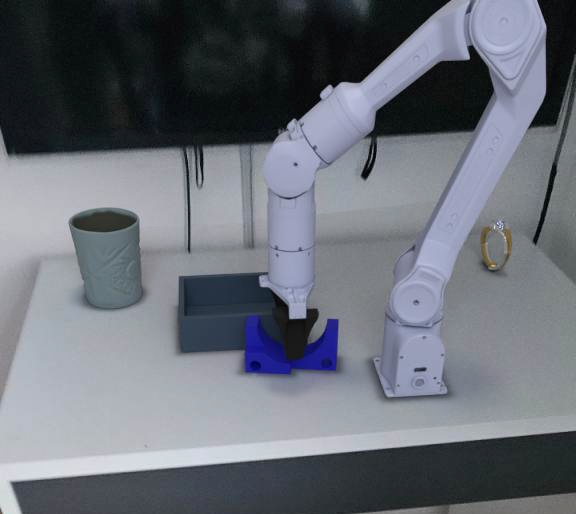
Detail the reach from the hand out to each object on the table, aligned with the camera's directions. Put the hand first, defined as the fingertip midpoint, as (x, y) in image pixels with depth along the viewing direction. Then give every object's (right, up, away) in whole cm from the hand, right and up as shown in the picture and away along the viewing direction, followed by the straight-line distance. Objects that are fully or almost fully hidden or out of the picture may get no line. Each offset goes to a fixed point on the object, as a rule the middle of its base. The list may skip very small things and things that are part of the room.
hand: (291, 343), depth 101 cm
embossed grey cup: (-27, +11, +18) cm, 35 cm away
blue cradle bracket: (0, -3, +2) cm, 4 cm away
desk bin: (-7, +5, +11) cm, 14 cm away
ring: (+33, +18, +25) cm, 45 cm away
